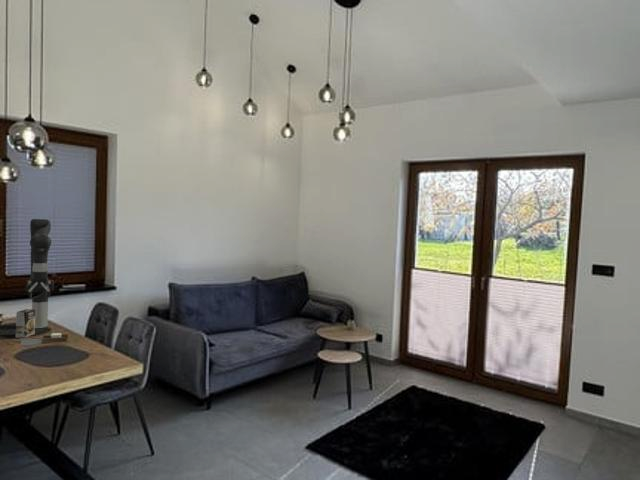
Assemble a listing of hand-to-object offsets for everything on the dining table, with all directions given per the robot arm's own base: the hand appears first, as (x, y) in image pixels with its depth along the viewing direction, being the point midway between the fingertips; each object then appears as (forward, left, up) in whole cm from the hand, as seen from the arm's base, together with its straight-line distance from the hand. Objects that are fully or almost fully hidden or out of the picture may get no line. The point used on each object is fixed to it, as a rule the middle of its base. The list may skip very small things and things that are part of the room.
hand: (39, 297), depth 266 cm
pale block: (-4, +9, -27) cm, 29 cm away
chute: (-4, +8, -28) cm, 29 cm away
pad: (-4, -4, -28) cm, 28 cm away
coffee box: (-21, -9, -28) cm, 36 cm away
